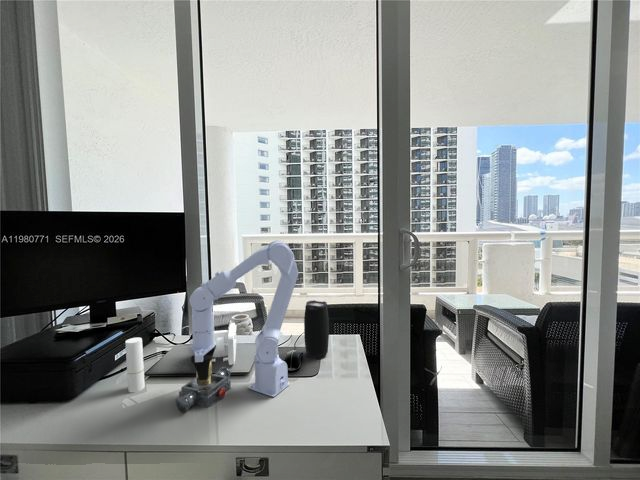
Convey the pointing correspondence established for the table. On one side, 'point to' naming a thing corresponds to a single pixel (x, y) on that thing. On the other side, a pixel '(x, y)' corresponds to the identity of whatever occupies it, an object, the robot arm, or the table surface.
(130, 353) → the tube
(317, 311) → the portable speaker
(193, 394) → the valve body
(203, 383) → the brass cylinder
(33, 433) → the table surface
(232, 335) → the cable organizer
